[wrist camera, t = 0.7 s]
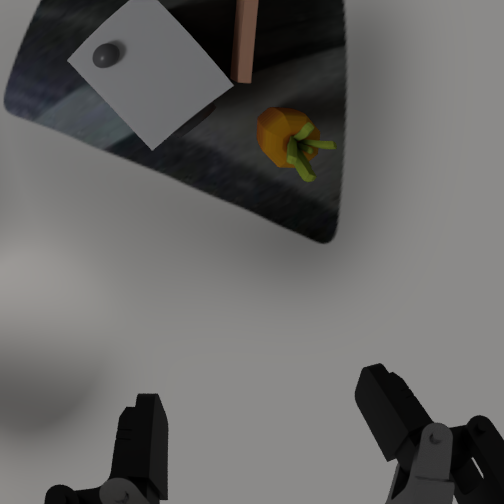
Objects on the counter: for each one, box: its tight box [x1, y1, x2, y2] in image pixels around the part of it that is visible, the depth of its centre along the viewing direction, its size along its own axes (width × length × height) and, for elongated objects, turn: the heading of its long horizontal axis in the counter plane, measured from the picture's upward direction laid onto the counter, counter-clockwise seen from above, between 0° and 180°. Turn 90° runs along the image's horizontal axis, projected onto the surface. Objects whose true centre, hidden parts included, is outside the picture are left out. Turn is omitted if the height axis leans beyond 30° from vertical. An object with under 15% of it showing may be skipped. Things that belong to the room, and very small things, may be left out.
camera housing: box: [67, 0, 234, 150], centre depth 21 cm, size 12×8×11 cm, turn 35°
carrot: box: [257, 107, 337, 182], centre depth 24 cm, size 5×5×15 cm
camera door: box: [230, 0, 258, 83], centre depth 20 cm, size 11×2×9 cm, turn 175°
